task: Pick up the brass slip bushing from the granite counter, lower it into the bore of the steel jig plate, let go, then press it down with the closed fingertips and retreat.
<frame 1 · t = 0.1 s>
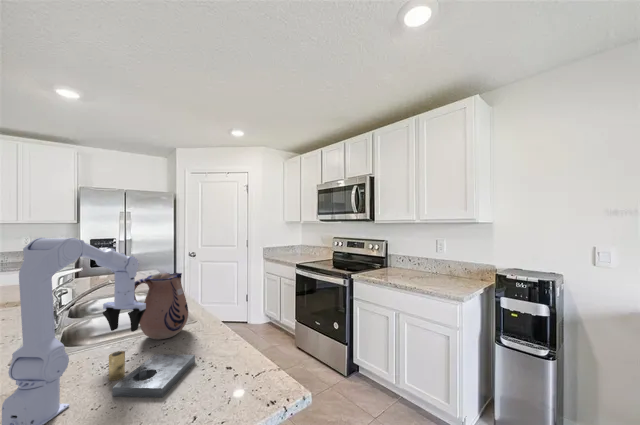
hand: (124, 330, 95), 10 cm above the countertop, tool pointing down, fingers open, 7 cm apart
slip bushing: (116, 376, 84), on the countertop
ceramic pitcher: (160, 337, 112), on the countertop
jig plate: (158, 377, 84), on the countertop
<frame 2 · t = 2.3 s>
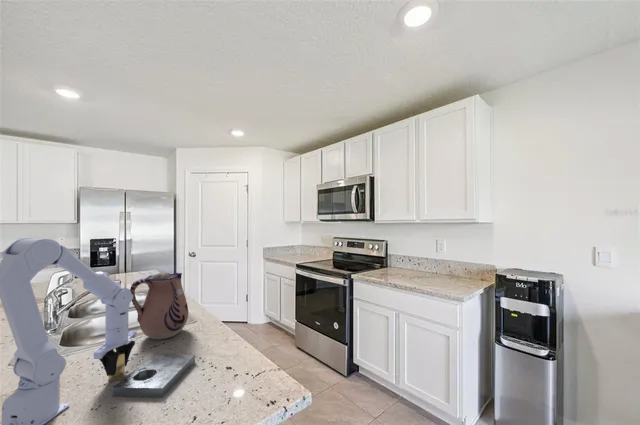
hand: (116, 370, 84), 2 cm above the countertop, tool pointing down, fingers closed on slip bushing, 4 cm apart
slip bushing: (116, 376, 84), on the countertop, touching gripper
everything else where it was.
when the fingers open (3 cm above the countertop, at t = 6.7 s): slip bushing drops 1 cm, resting in jig plate.
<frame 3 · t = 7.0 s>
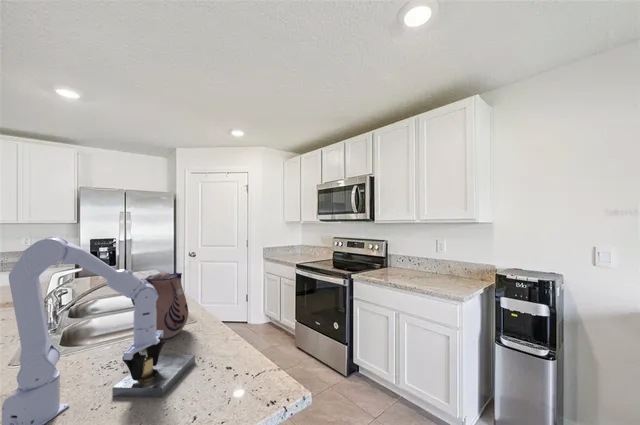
hand: (145, 371, 81), 3 cm above the countertop, tool pointing down, fingers open, 6 cm apart
slip bushing: (144, 383, 81), resting in jig plate
everything else where it was.
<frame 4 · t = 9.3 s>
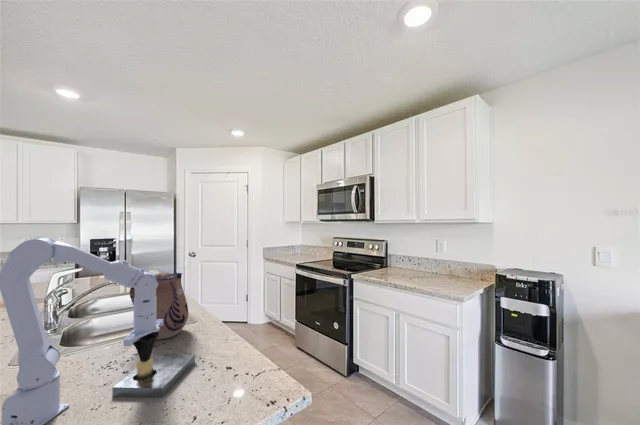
hand: (145, 359, 81), 7 cm above the countertop, tool pointing down, fingers closed, pressing on slip bushing
slip bushing: (144, 383, 81), resting in jig plate, touching gripper
everything else where it was.
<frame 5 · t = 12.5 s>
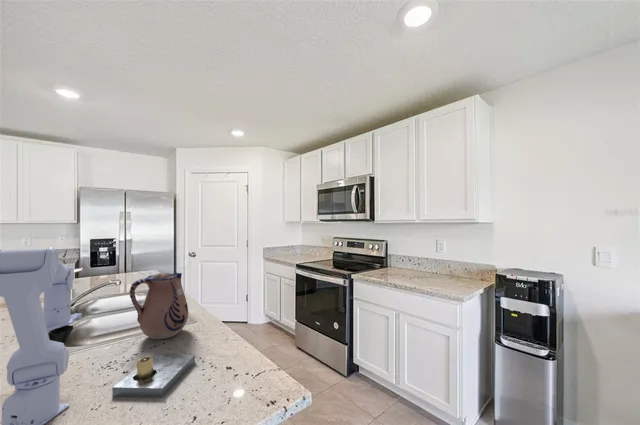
hand: (57, 353, 80), 9 cm above the countertop, tool pointing down, fingers closed
slip bushing: (144, 383, 81), resting in jig plate
everything else where it was.
at the end: slip bushing 0.0 cm from the target spot on the jig plate, point 0.0 cm above the jig plate's base; slip bushing tilted 0°; the gripper is holding nothing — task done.
